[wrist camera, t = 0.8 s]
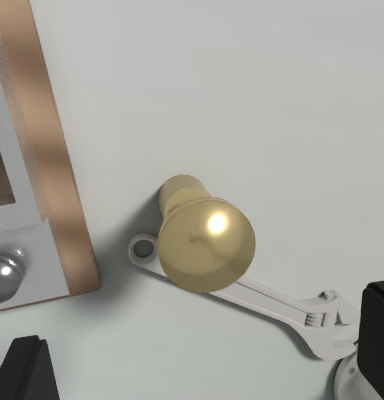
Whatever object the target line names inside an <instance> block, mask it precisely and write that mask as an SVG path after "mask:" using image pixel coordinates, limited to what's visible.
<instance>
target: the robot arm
mask: <svg viewBox="0 0 384 400" xmlns="http://www.w3.org/2000/svg"><path fill="white" fill-rule="evenodd" d="M355 346H356V350H355V351H354V352H353V353H352V354H350V355H349V356H347V357H345V358H343V360H342V362H341V363H340V365H339V367H338V369H337V372H336V375H335V379H334V388H333V389H334V396H335V399H336V400H384V281H378V282H372V283H369V284H368V285H367V288H366V289H364V290H363V293H362V304H361V316H360V327H359V339H358V343H357V344H356V345H355ZM0 400H60V399H59V394H58V390H57V385H56V381H55V376H54V372H53V367H52V363H51V358H50V354H49V349H48V345H47V341H46V340H45V339H44V340H40V339H39V337H38V336H37V335H33V336H27V337H21V338H15V339H14V340H13V341H12V343H11V346H10V348H9V350H8V352H7V354H6V357H5V359H4V361H3V363H2V365H1V368H0Z"/></svg>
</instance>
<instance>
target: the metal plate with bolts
mask: <svg viewBox="0 0 384 400" xmlns="http://www.w3.org/2000/svg"><path fill="white" fill-rule="evenodd" d="M0 153H1V156H2V159H3V162H4V165H5V169H6V172H7V175H8V178H9V181H10V184H11V188H12V191H13V194H7V195H1V196H0V309H4V308H9V307H14V306H18V305H23V304H28V303H32V302H37V301H42V300H46V299H51V298H56V297H60V296H65V295H70V291H71V288H72V282H71V278H70V274H69V271H68V267H67V264H66V260H65V257H64V253H63V250H62V246H61V243H60V239H59V236H58V232H57V229H56V225H55V222H54V218H53V215H52V211H51V208H50V204H49V200H48V197H47V193H46V190H45V186H44V183H43V179H42V176H41V172H40V169H39V165H38V162H37V158H36V155H35V151H34V148H33V144H32V141H31V137H30V134H29V130H28V126H27V123H26V119H25V116H24V112H23V109H22V105H21V102H20V98H19V95H18V91H17V88H16V84H15V81H14V77H13V74H12V70H11V67H10V63H9V60H8V56H7V52H6V49H5V45H4V42H3V38H2V35H1V31H0Z"/></svg>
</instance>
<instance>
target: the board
mask: <svg viewBox="0 0 384 400" xmlns="http://www.w3.org/2000/svg"><path fill="white" fill-rule="evenodd" d="M0 31H1V35H2V38H3V42H4V45H5V49H6V52H7V56H8V60H9V63H10V67H11V70H12V74H13V77H14V81H15V84H16V88H17V91H18V95H19V98H20V102H21V105H22V109H23V112H24V116H25V119H26V123H27V126H28V130H29V134H30V137H31V141H32V144H33V148H34V151H35V155H36V158H37V162H38V165H39V169H40V172H41V176H42V179H43V183H44V186H45V190H46V193H47V197H48V200H49V204H50V208H51V211H52V215H53V218H54V222H55V225H56V229H57V232H58V236H59V239H60V243H61V246H62V250H63V253H64V257H65V260H66V264H67V267H68V271H69V274H70V278H71V282H72V288H71V291H70V295H65V296H60V297H56V298H51V299H46V300H42V301H37V302H32V303H28V304H23V305H18V306H14V307H9V308H4V309H0V311H4V310H9V309H13V308H18V307H23V306H27V305H32V304H37V303H41V302H46V301H51V300H55V299H60V298H65V297H69V296H74V295H78V294H83V293H88V292H92V291H97V290H100V287H101V280H100V276H99V272H98V268H97V265H96V261H95V257H94V253H93V249H92V245H91V241H90V237H89V233H88V229H87V225H86V221H85V217H84V213H83V209H82V206H81V202H80V198H79V194H78V190H77V186H76V182H75V178H74V174H73V170H72V166H71V162H70V158H69V154H68V151H67V147H66V143H65V139H64V135H63V131H62V127H61V123H60V119H59V115H58V111H57V107H56V103H55V99H54V96H53V92H52V88H51V84H50V80H49V76H48V72H47V68H46V64H45V60H44V56H43V52H42V48H41V44H40V41H39V37H38V33H37V29H36V25H35V21H34V17H33V13H32V9H31V5H30V1H29V0H0ZM7 194H13V191H12V188H11V184H10V181H9V178H8V175H7V172H6V169H5V165H4V162H3V159H2V156H1V153H0V196H1V195H7Z"/></svg>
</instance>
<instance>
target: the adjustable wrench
mask: <svg viewBox="0 0 384 400" xmlns="http://www.w3.org/2000/svg"><path fill="white" fill-rule="evenodd" d="M157 239H158V238H157V237H155V236H153V235H151V234H147V233H140V234H137V235H135V236H134V237H133V238H132V239H131V240H130V241H129V244H128V257H129V259H130V261H131V262H132V263H133V264H135V265H137V266H139V267H142V268H144V269H147V270H150V271H152V272H155V273H157V274H160V275H163V276H165V277H167V276H166V274H165V273H164V271H163V269H162V267H161V264H160V260H159V255H158V249H157ZM140 240H148V241H150V242H151V243H152V245H153V253H152V254H151V255H150V256H148V257H144V258H141V257H138V256H137V255H136V254H135V253H134V245H135V244H136V243H137V242H138V241H140ZM210 294H212V295H215V296H217V297H220V298H223V299H225V300H228V301H230V302H233V303H236V304H238V305H241V306H244V307H246V308H249V309H251V310H254V311H257V312H259V313H262V314H264V315H267V316H270V317H272V318H275V319H277V320H280V321H283V322H285V323H287V324H289V325H290V326H291V327H293V328H294V329H295V330H296V331H297V332H298V333H299V334H300V335H301V336H302V337H303V339H304V340H305V341H306V343H307V344H308V345H309V347H310V348H311V350H312V351H313V353H314V354H315V355H316V356H318V357H319V358H321V359H324V360H339V359H342V358H345V357H347V356H349V355H350V354H352V353H353V352H354V351H355V350H356V346H355V345H354V344H353V343H352V342H351V341H350V340H332V338H331V336H332V332H333V328H334V324H335V323H336V322H337V321H338V320H339V321H340V322H341V323H342V324H360V316H361V313H360V312H359V311H358V310H357V308H355V307H354V306H353V305H352V304H351V303H350V302H349V301H348V300H346V299H345V298H342V297H341V296H340V295H339V294H338V293H337V292H336V291H335V290H333V291H330V292H328V291H326V292H325V293H324V295H323V296H321V297H316V298H312V299H296V298H293V297H289V296H287V295H285V294H283V293H281V292H278V291H276V290H274V289H272V288H269V287H267V286H265V285H263V284H260V283H258V282H256V281H254V280H251V279H249V278H247V277H245V276H241V277H240V278H239V279H238V280H237V281H236V282H234V283H233V284H232V285H230V286H228V287H226V288H224V289H221V290H219V291H215V292H210Z"/></svg>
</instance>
